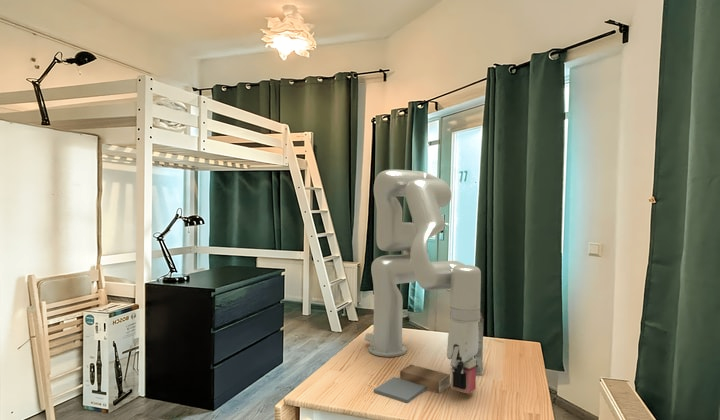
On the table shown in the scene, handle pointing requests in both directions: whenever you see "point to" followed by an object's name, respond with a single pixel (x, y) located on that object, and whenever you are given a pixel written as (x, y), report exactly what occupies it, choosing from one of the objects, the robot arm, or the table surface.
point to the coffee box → (479, 347)
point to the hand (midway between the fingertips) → (463, 383)
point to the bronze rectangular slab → (426, 378)
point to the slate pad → (400, 389)
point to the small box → (468, 376)
